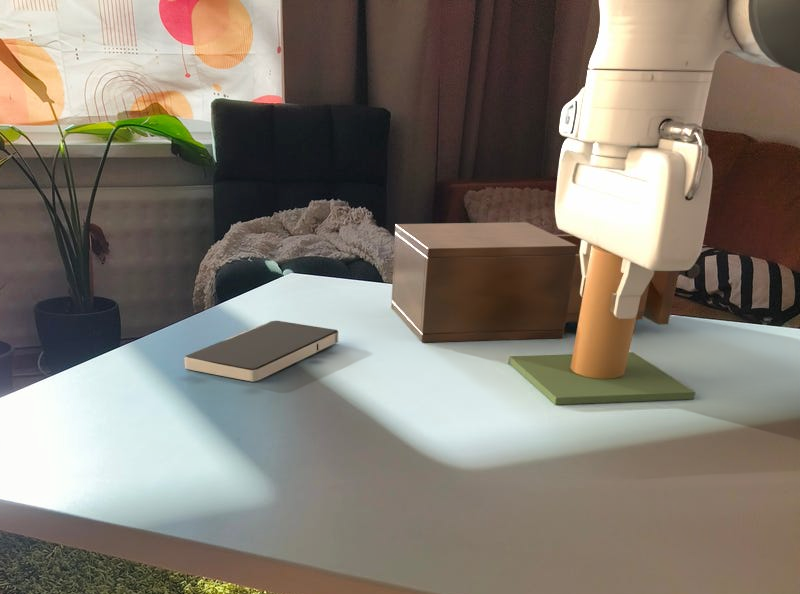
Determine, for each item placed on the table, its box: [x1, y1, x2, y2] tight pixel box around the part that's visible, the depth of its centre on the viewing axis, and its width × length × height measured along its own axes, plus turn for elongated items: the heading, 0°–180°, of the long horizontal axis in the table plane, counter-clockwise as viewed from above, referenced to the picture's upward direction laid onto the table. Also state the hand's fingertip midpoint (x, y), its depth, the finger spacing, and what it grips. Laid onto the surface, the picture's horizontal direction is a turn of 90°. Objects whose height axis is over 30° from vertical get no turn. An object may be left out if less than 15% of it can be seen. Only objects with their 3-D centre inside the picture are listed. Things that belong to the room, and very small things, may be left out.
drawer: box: [554, 234, 701, 325], centre depth 94 cm, size 18×13×7 cm
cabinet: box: [390, 221, 577, 343], centre depth 92 cm, size 15×15×9 cm
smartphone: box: [183, 320, 339, 382], centre depth 83 cm, size 8×1×15 cm
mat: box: [508, 351, 696, 406], centre depth 78 cm, size 12×12×1 cm
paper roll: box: [571, 245, 641, 379], centre depth 75 cm, size 5×5×10 cm
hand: (606, 307), depth 75 cm, fingers closed on paper roll, 5 cm apart
